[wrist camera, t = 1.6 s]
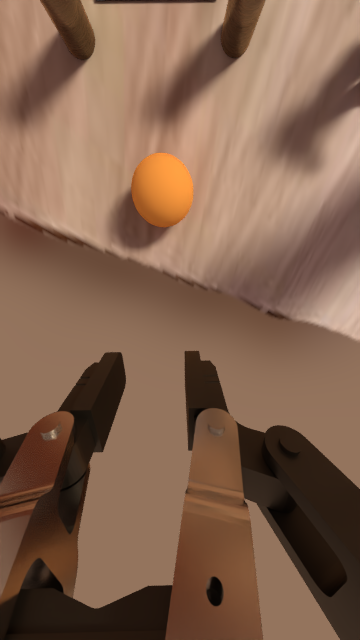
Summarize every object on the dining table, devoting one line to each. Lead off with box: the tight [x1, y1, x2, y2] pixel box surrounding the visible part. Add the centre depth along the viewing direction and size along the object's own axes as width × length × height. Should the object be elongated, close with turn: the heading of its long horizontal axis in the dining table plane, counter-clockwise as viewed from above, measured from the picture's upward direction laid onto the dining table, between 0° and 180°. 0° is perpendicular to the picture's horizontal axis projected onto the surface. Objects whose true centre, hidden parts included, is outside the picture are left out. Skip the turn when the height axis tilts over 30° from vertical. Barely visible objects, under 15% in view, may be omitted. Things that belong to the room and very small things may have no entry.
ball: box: [131, 153, 193, 227], centre depth 19 cm, size 6×6×6 cm
